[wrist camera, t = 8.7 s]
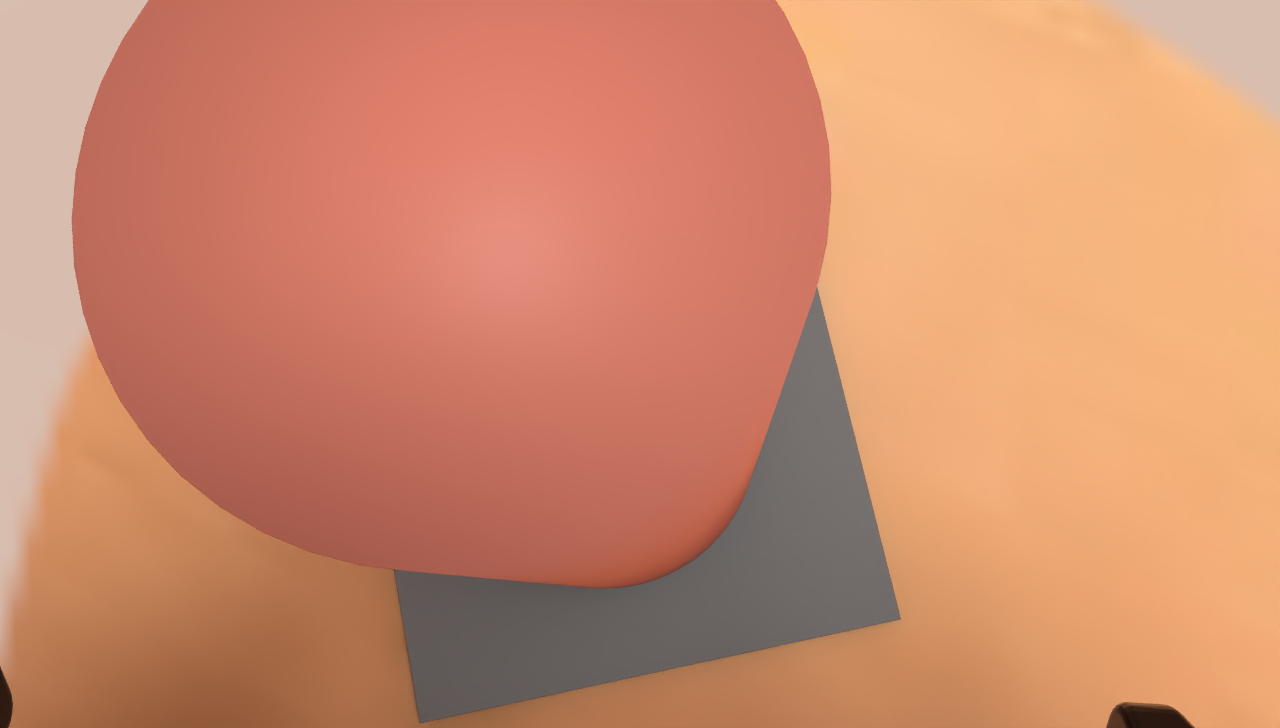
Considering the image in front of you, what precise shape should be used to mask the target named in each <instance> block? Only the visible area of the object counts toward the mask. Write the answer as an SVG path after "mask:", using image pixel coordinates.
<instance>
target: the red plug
mask: <svg viewBox="0 0 1280 728" xmlns="http://www.w3.org/2000/svg"><path fill="white" fill-rule="evenodd" d="M830 203H831V178H830V157H829V144H828V139H827V133H826V128H825V123H824V117H823V112H822V107H821V101H820V98H819V95H818V92H817V89H816V86H815V83H814V80H813V77H812V74H811V71H810V68H809V65H808V62H807V59H806V56H805V54H804V52H803V50H802V48H801V46H800V44H799V42H798V40H797V38H796V36H795V34H794V32H793V30H792V28H791V26H790V24H789V22H788V20H787V18H786V16H785V14H784V12H783V11H782V9H781V8H780V6H779V5H778V3H777V2H776V0H149V1H148V2H147V4H146V5H145V7H144V8H143V10H142V11H141V13H140V14H139V16H138V17H137V19H136V20H135V22H134V23H133V25H132V26H131V28H130V29H129V31H128V32H127V34H126V35H125V37H124V38H123V40H122V42H121V44H120V46H119V48H118V50H117V52H116V54H115V56H114V58H113V60H112V62H111V64H110V66H109V68H108V70H107V72H106V74H105V76H104V78H103V80H102V82H101V84H100V87H99V90H98V93H97V96H96V99H95V101H94V104H93V107H92V110H91V112H90V115H89V118H88V121H87V124H86V127H85V132H84V136H83V141H82V145H81V150H80V155H79V159H78V164H77V168H76V175H75V186H74V199H73V211H72V232H73V252H74V267H75V272H76V278H77V283H78V289H79V294H80V299H81V304H82V310H83V314H84V317H85V320H86V323H87V326H88V329H89V332H90V335H91V338H92V341H93V343H94V346H95V349H96V352H97V355H98V358H99V360H100V362H101V364H102V366H103V368H104V370H105V372H106V374H107V376H108V378H109V380H110V382H111V384H112V386H113V388H114V390H115V392H116V394H117V396H118V398H119V400H120V401H121V403H122V404H123V406H124V407H125V408H126V410H127V411H128V413H129V414H130V416H131V417H132V418H133V420H134V421H135V423H136V424H137V426H138V427H139V429H140V430H141V431H142V433H143V434H144V436H145V437H146V439H147V440H148V441H149V442H150V443H151V444H152V445H153V446H154V447H155V449H156V450H157V451H158V452H159V453H160V454H161V455H162V456H163V457H164V458H165V459H166V460H167V461H168V462H169V464H170V465H171V466H172V467H173V468H174V469H175V470H176V471H177V472H178V473H179V474H180V475H181V476H182V477H183V478H184V479H186V480H187V481H188V482H189V483H191V484H192V485H193V486H194V487H196V488H197V489H198V490H199V491H201V492H202V493H203V494H204V495H206V496H207V497H208V498H209V499H211V500H212V501H213V502H214V503H215V504H217V505H218V506H219V507H221V508H222V509H224V510H226V511H227V512H229V513H231V514H233V515H234V516H236V517H238V518H239V519H241V520H243V521H244V522H246V523H248V524H249V525H251V526H253V527H255V528H256V529H258V530H260V531H261V532H263V533H265V534H268V535H270V536H273V537H275V538H277V539H280V540H282V541H285V542H287V543H289V544H292V545H294V546H297V547H299V548H301V549H304V550H306V551H309V552H312V553H315V554H319V555H323V556H327V557H331V558H334V559H338V560H342V561H346V562H350V563H354V564H357V565H363V566H371V567H379V568H388V569H396V570H404V571H413V572H424V573H435V574H446V575H457V576H468V577H479V578H490V579H501V580H512V581H523V582H534V583H545V584H556V585H567V586H578V587H589V588H622V587H628V586H635V585H640V584H643V583H647V582H650V581H654V580H657V579H659V578H662V577H664V576H666V575H668V574H671V573H673V572H675V571H677V570H678V569H680V568H682V567H683V566H685V565H687V564H688V563H690V562H692V561H693V560H694V559H696V558H697V557H698V556H699V555H700V554H702V553H703V552H704V551H705V550H707V549H708V548H709V547H710V546H711V545H712V544H713V543H714V542H715V540H716V539H717V538H718V537H719V536H720V535H721V534H722V533H723V531H724V530H725V529H726V527H727V526H728V525H729V523H730V522H731V520H732V519H733V517H734V516H735V514H736V512H737V510H738V508H739V506H740V504H741V503H742V501H743V498H744V496H745V493H746V490H747V488H748V485H749V482H750V480H751V477H752V474H753V471H754V468H755V465H756V462H757V459H758V457H759V454H760V451H761V448H762V445H763V442H764V439H765V436H766V434H767V431H768V428H769V425H770V422H771V419H772V416H773V413H774V410H775V408H776V405H777V402H778V399H779V396H780V393H781V390H782V387H783V385H784V382H785V379H786V376H787V373H788V370H789V367H790V364H791V362H792V359H793V356H794V353H795V350H796V347H797V344H798V341H799V339H800V336H801V333H802V330H803V327H804V324H805V321H806V318H807V316H808V313H809V310H810V307H811V304H812V301H813V298H814V295H815V292H816V288H817V284H818V280H819V275H820V271H821V267H822V262H823V258H824V254H825V249H826V245H827V236H828V225H829V214H830Z"/></svg>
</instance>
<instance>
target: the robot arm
mask: <svg viewBox="0 0 1280 728" xmlns="http://www.w3.org/2000/svg"><path fill="white" fill-rule="evenodd" d="M12 708H13V702H12V695H11V691H10V689H9V686H8V684H7V681H6V679H5V677H4V674H3V672H2V669H1V667H0V728H8V727H9V724H10V721H11V716H12ZM1106 728H1195V727H1194V726H1193V725H1192V724H1191V723H1190V722H1189V721H1188V720H1187V719H1186V718H1185V717H1184V716H1183V715H1182V714H1181V713H1180V712H1179V711H1177V710H1176V709H1174V708H1173V707H1170V706H1168V705H1162V704H1147V703H1132V702H1123V703H1119V704H1118V705H1116V706H1115V708H1114V709H1113V710H1112V712H1111V715H1110V717H1109V721H1108V724H1107V727H1106Z"/></svg>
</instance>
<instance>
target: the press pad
mask: <svg viewBox="0 0 1280 728" xmlns="http://www.w3.org/2000/svg"><path fill="white" fill-rule="evenodd" d="M394 571H395V577H396V583H397V589H398V595H399V601H400V607H401V613H402V619H403V625H404V631H405V637H406V643H407V649H408V655H409V661H410V667H411V673H412V679H413V685H414V691H415V697H416V703H417V709H418V715H419V721H420V723H423V722H428V721H433V720H437V719H442V718H447V717H451V716H456V715H460V714H465V713H470V712H474V711H479V710H484V709H488V708H493V707H497V706H502V705H507V704H511V703H516V702H521V701H525V700H530V699H534V698H539V697H544V696H548V695H553V694H558V693H562V692H567V691H571V690H576V689H581V688H585V687H590V686H595V685H599V684H604V683H608V682H613V681H618V680H622V679H627V678H632V677H636V676H641V675H645V674H650V673H655V672H659V671H664V670H669V669H673V668H678V667H682V666H687V665H692V664H696V663H701V662H706V661H710V660H715V659H719V658H724V657H729V656H733V655H738V654H743V653H747V652H752V651H756V650H761V649H766V648H770V647H775V646H780V645H784V644H789V643H793V642H798V641H803V640H807V639H812V638H817V637H821V636H826V635H830V634H835V633H840V632H844V631H849V630H854V629H858V628H863V627H867V626H872V625H877V624H881V623H886V622H891V621H895V620H900V619H901V618H900V614H899V610H898V606H897V602H896V598H895V594H894V590H893V586H892V582H891V578H890V574H889V570H888V566H887V562H886V559H885V555H884V551H883V547H882V543H881V539H880V535H879V531H878V527H877V523H876V519H875V515H874V511H873V507H872V503H871V499H870V495H869V491H868V487H867V483H866V479H865V475H864V471H863V467H862V463H861V459H860V455H859V451H858V448H857V444H856V440H855V436H854V432H853V428H852V424H851V420H850V416H849V412H848V408H847V404H846V400H845V396H844V392H843V388H842V384H841V380H840V376H839V372H838V368H837V364H836V360H835V356H834V352H833V348H832V344H831V340H830V337H829V333H828V329H827V325H826V321H825V317H824V313H823V309H822V305H821V301H820V297H819V293H818V289H817V288H816V292H815V295H814V298H813V301H812V304H811V307H810V310H809V313H808V316H807V318H806V321H805V324H804V327H803V330H802V333H801V336H800V339H799V341H798V344H797V347H796V350H795V353H794V356H793V359H792V362H791V364H790V367H789V370H788V373H787V376H786V379H785V382H784V385H783V387H782V390H781V393H780V396H779V399H778V402H777V405H776V408H775V410H774V413H773V416H772V419H771V422H770V425H769V428H768V431H767V434H766V436H765V439H764V442H763V445H762V448H761V451H760V454H759V457H758V459H757V462H756V465H755V468H754V471H753V474H752V477H751V480H750V482H749V485H748V488H747V490H746V493H745V496H744V498H743V501H742V503H741V504H740V506H739V508H738V510H737V512H736V514H735V516H734V517H733V519H732V520H731V522H730V523H729V525H728V526H727V527H726V529H725V530H724V531H723V533H722V534H721V535H720V536H719V537H718V538H717V539H716V540H715V542H714V543H713V544H712V545H711V546H710V547H709V548H708V549H707V550H705V551H704V552H703V553H702V554H700V555H699V556H698V557H697V558H696V559H694V560H693V561H692V562H690V563H688V564H687V565H685V566H683V567H682V568H680V569H678V570H677V571H675V572H673V573H671V574H668V575H666V576H664V577H662V578H659V579H657V580H654V581H650V582H647V583H643V584H640V585H635V586H628V587H622V588H589V587H578V586H567V585H556V584H545V583H534V582H523V581H512V580H501V579H490V578H479V577H468V576H457V575H446V574H435V573H424V572H413V571H404V570H396V569H394Z"/></svg>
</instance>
